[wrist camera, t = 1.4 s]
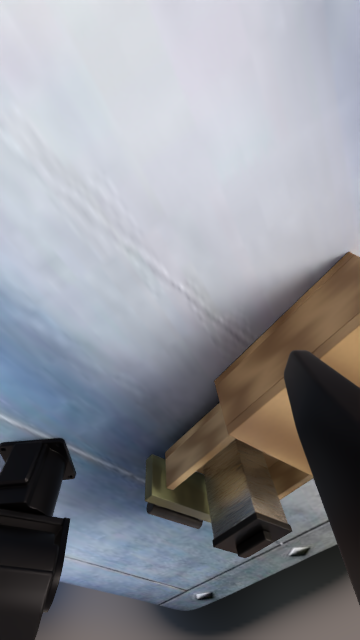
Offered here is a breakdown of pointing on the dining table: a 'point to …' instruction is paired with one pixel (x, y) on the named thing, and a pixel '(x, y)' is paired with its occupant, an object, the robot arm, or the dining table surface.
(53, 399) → the dining table surface
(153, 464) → the drawer
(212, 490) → the metal box
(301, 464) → the cabinet
